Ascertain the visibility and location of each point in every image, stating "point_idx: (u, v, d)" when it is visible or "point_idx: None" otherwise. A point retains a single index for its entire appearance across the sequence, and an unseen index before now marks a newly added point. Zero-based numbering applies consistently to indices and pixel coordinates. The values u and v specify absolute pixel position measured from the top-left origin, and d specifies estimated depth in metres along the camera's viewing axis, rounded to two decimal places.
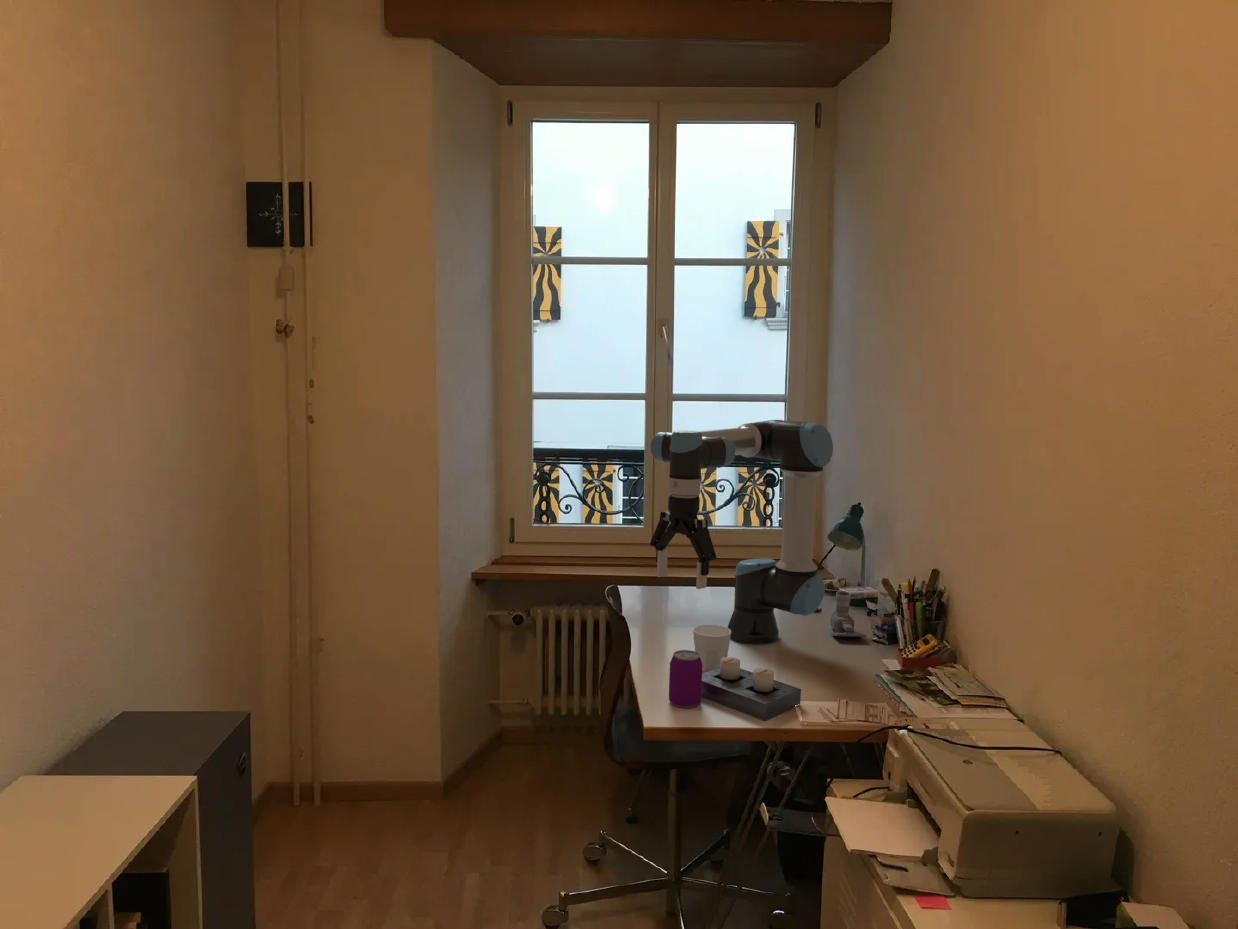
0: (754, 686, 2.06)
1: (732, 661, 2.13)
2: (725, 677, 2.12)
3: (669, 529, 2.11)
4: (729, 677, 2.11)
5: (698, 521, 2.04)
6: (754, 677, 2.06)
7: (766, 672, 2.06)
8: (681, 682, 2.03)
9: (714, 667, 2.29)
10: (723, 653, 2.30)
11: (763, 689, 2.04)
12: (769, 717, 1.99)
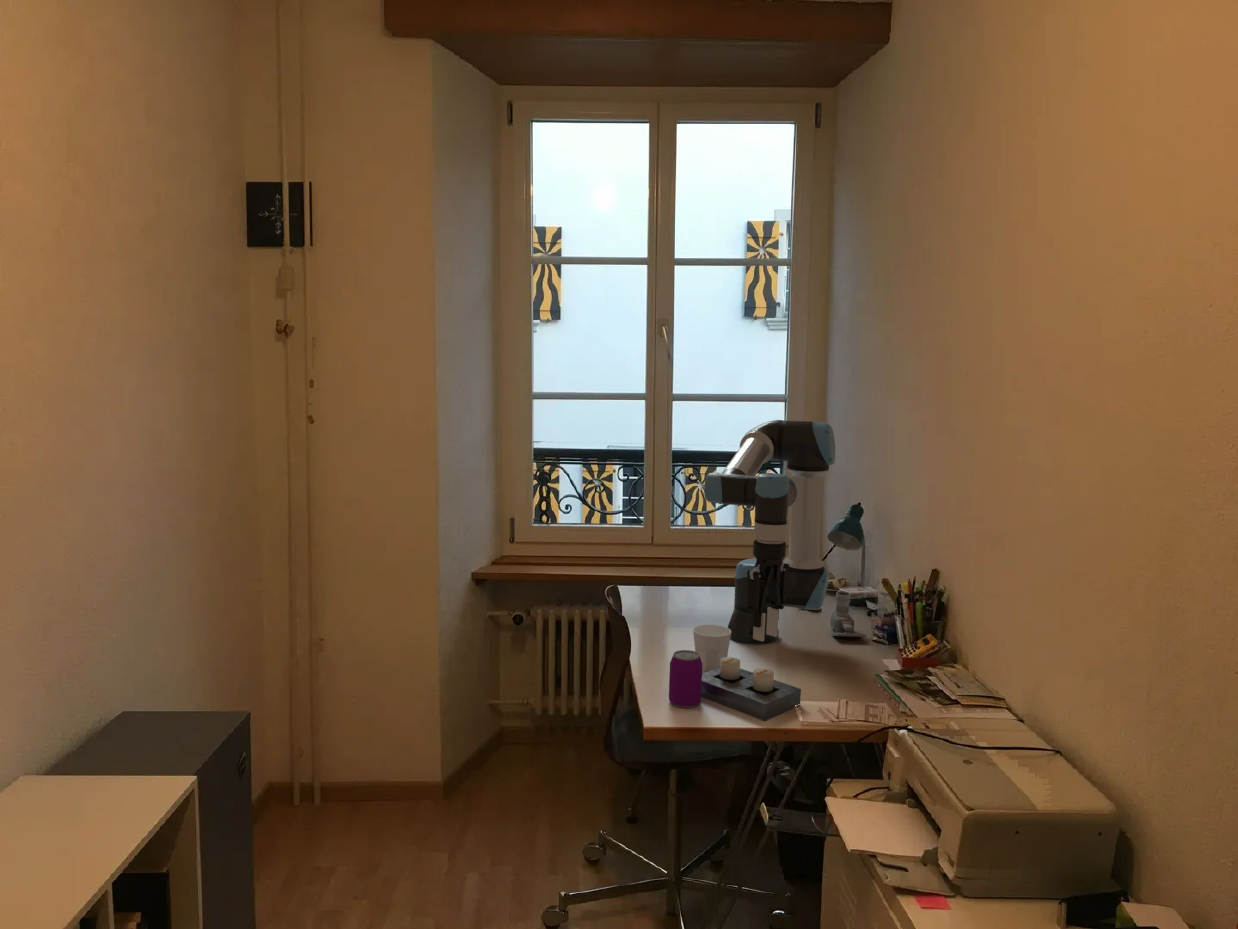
0: (754, 686, 2.06)
1: (732, 661, 2.13)
2: (725, 677, 2.12)
3: None
4: (729, 677, 2.11)
5: None
6: (754, 677, 2.06)
7: (766, 672, 2.06)
8: (681, 682, 2.03)
9: (714, 667, 2.29)
10: (723, 653, 2.30)
11: (763, 689, 2.04)
12: (769, 717, 1.99)
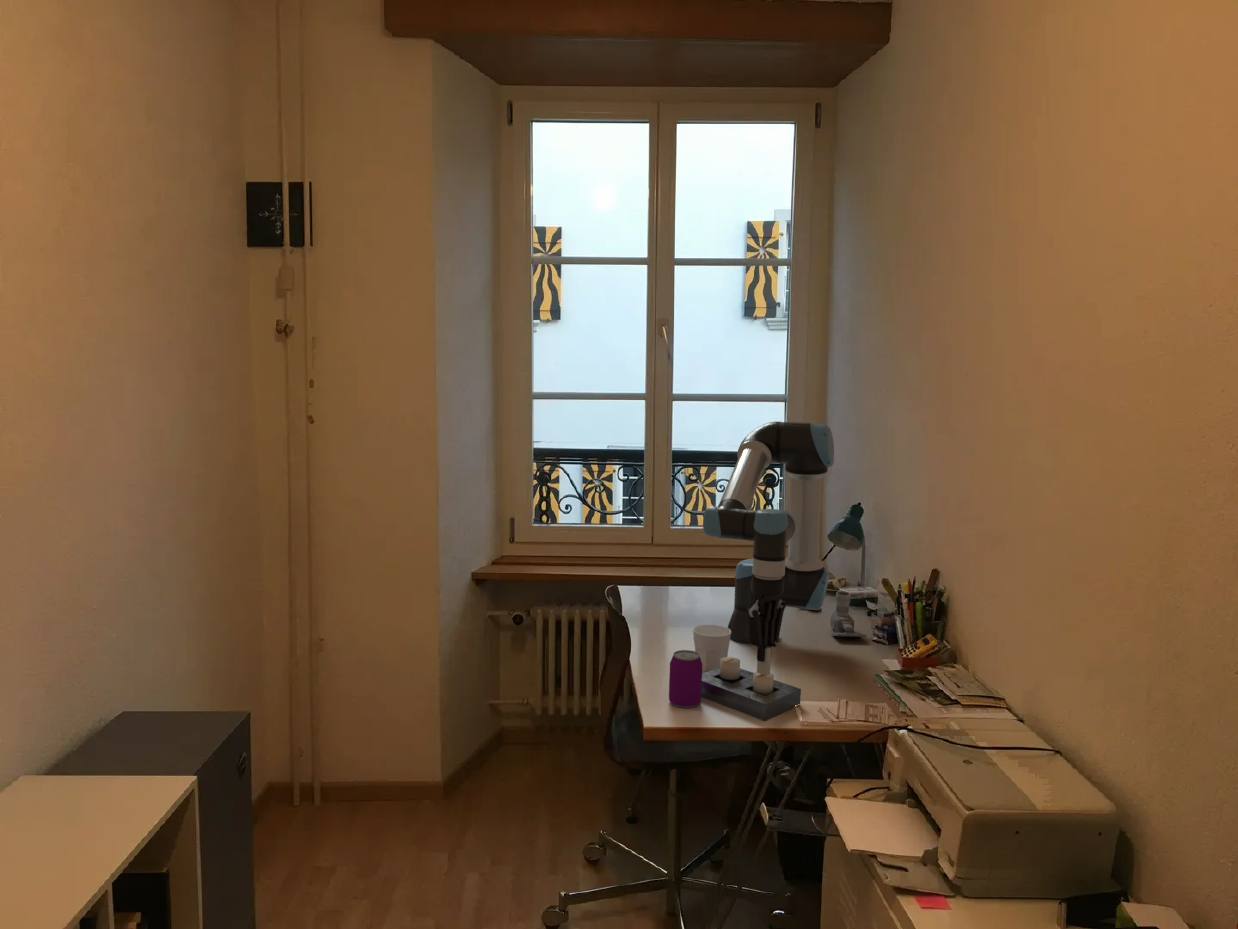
0: (754, 690, 2.06)
1: (732, 661, 2.13)
2: (725, 677, 2.12)
3: None
4: (729, 677, 2.11)
5: None
6: (754, 681, 2.06)
7: (766, 676, 2.06)
8: (681, 682, 2.03)
9: (714, 667, 2.29)
10: (723, 653, 2.30)
11: (763, 693, 2.04)
12: (769, 717, 1.99)
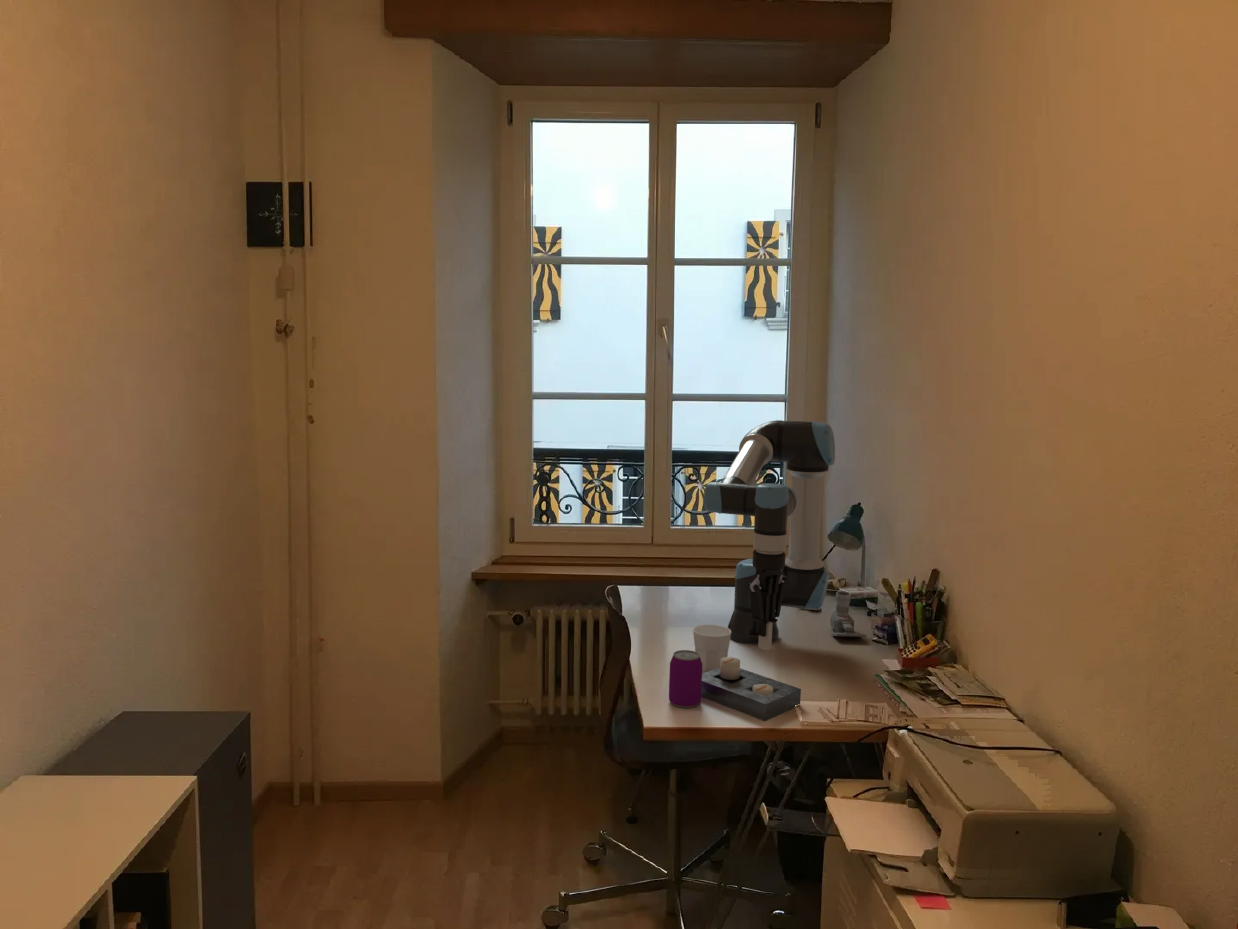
0: None
1: (732, 661, 2.13)
2: (725, 677, 2.12)
3: None
4: (729, 677, 2.11)
5: None
6: None
7: (765, 688, 2.06)
8: (681, 682, 2.03)
9: (714, 667, 2.29)
10: (723, 653, 2.30)
11: None
12: (769, 717, 1.99)
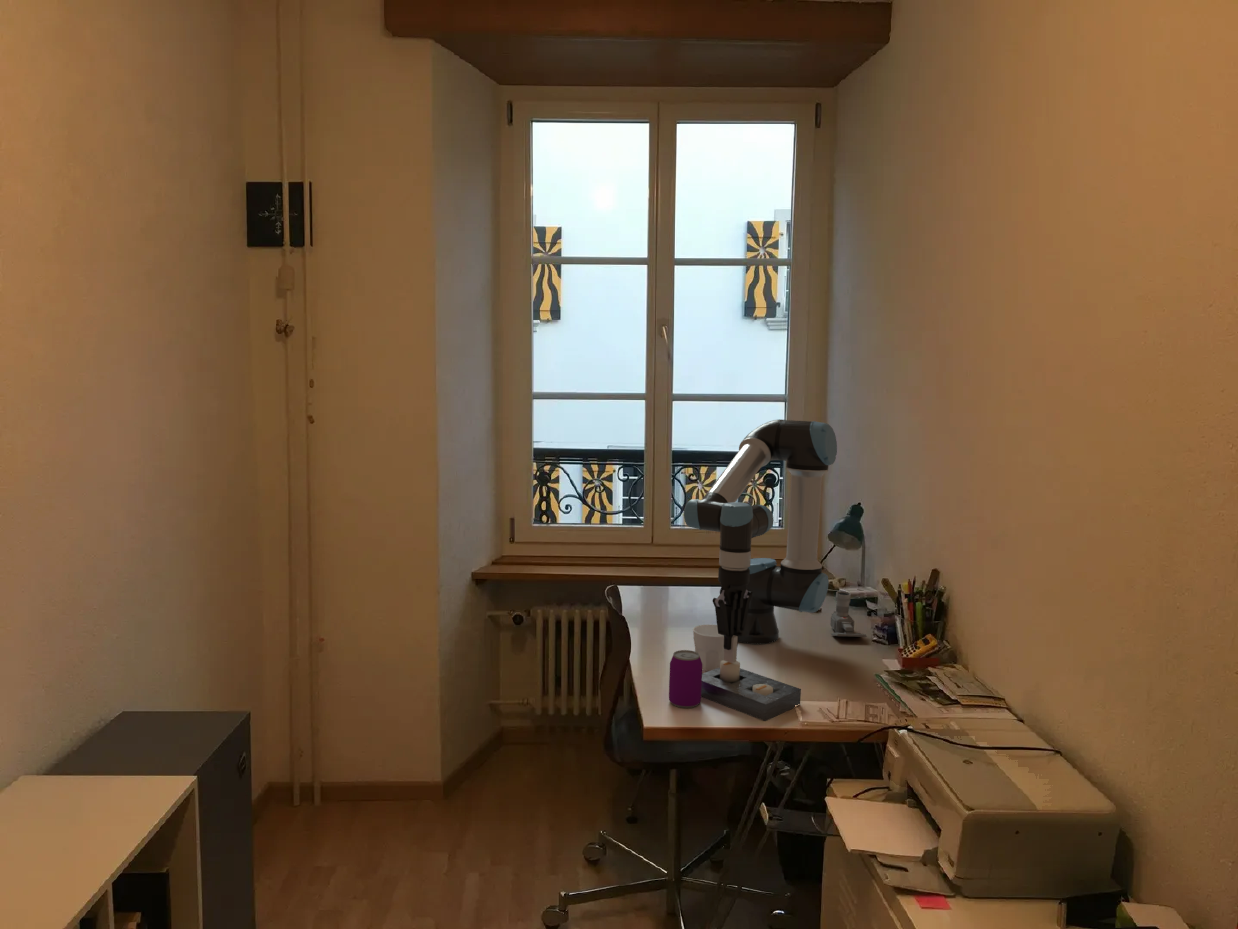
0: None
1: (732, 664, 2.13)
2: (725, 680, 2.12)
3: None
4: (729, 680, 2.12)
5: None
6: None
7: (765, 688, 2.06)
8: (681, 682, 2.03)
9: (714, 667, 2.29)
10: (723, 653, 2.30)
11: None
12: (769, 717, 1.99)
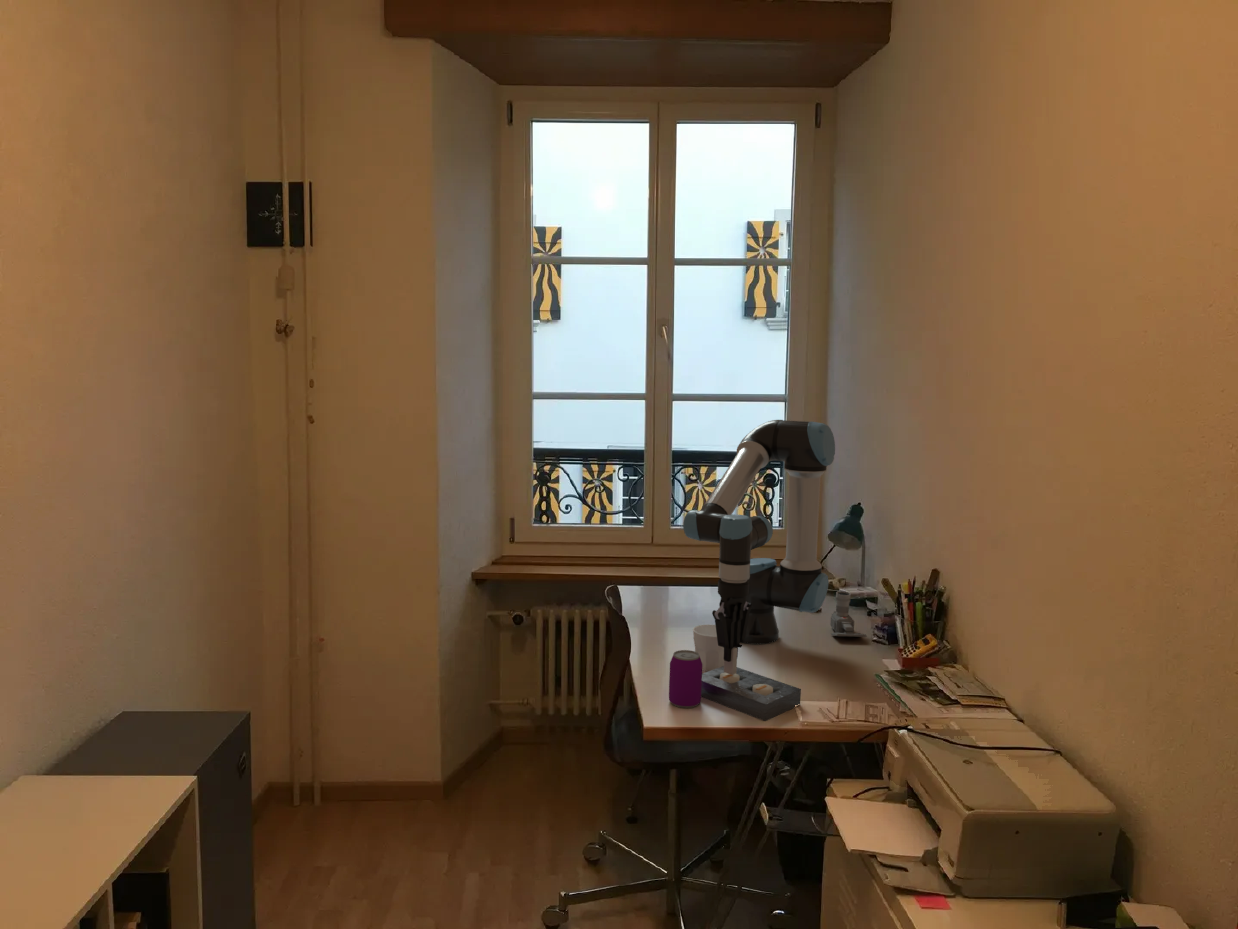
0: None
1: (731, 676, 2.13)
2: None
3: None
4: None
5: None
6: None
7: (765, 688, 2.06)
8: (681, 682, 2.03)
9: (714, 667, 2.29)
10: (723, 653, 2.30)
11: None
12: (769, 717, 1.99)
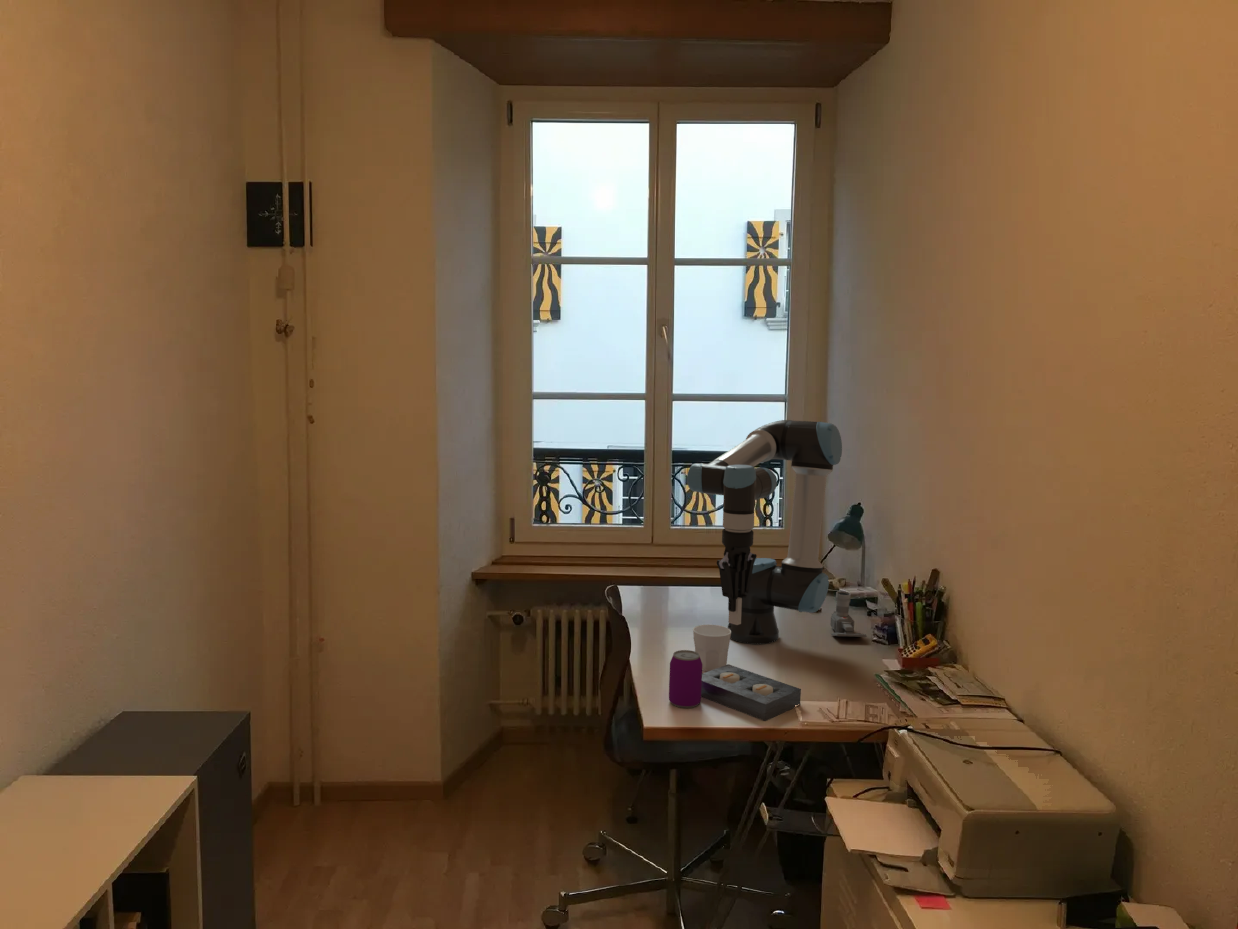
0: None
1: (731, 676, 2.13)
2: None
3: None
4: None
5: None
6: None
7: (765, 688, 2.06)
8: (681, 682, 2.03)
9: (714, 667, 2.29)
10: (723, 653, 2.30)
11: None
12: (769, 717, 1.99)
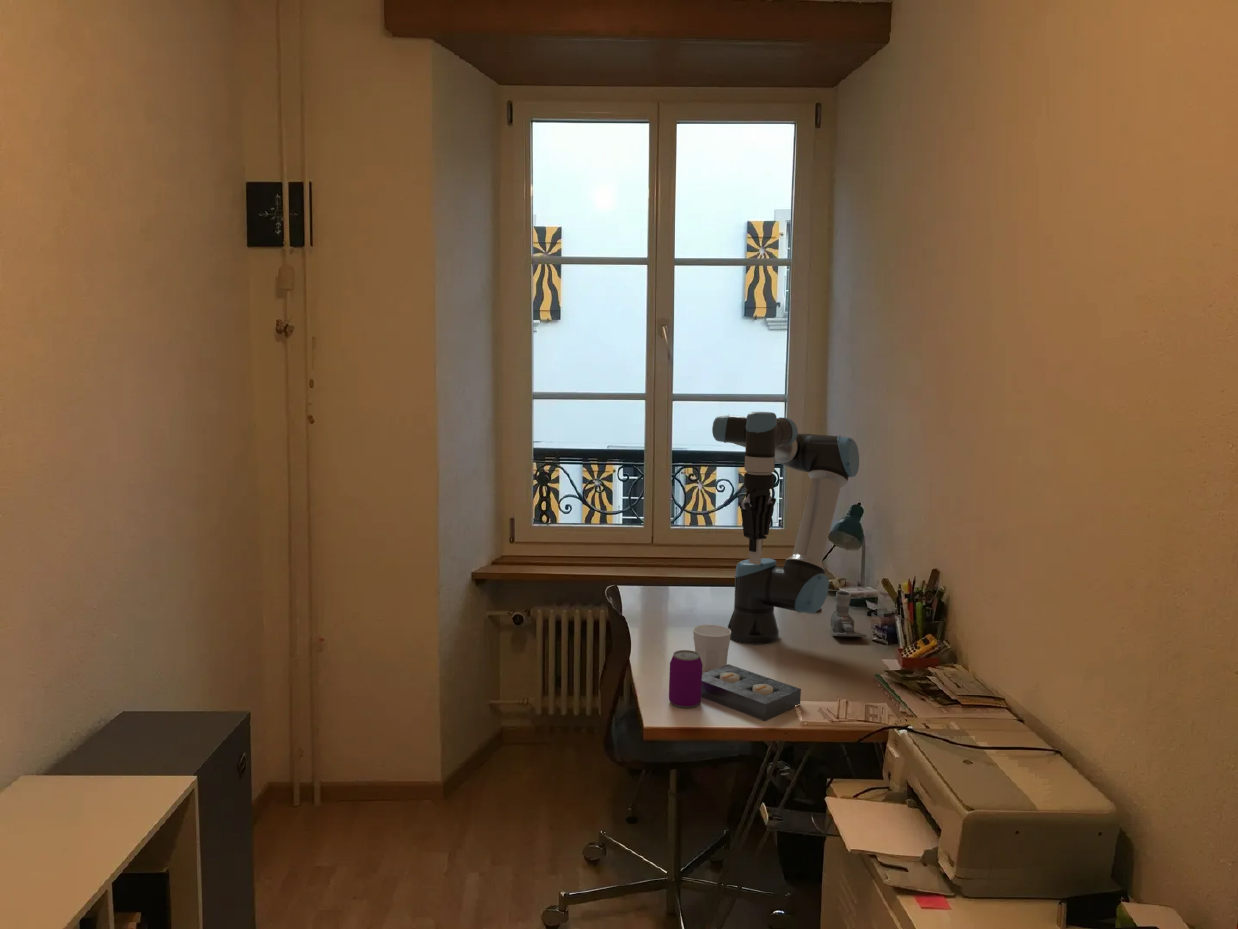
0: None
1: (731, 676, 2.13)
2: None
3: None
4: None
5: None
6: None
7: (765, 688, 2.06)
8: (681, 682, 2.03)
9: (714, 667, 2.29)
10: (723, 653, 2.30)
11: None
12: (769, 717, 1.99)
